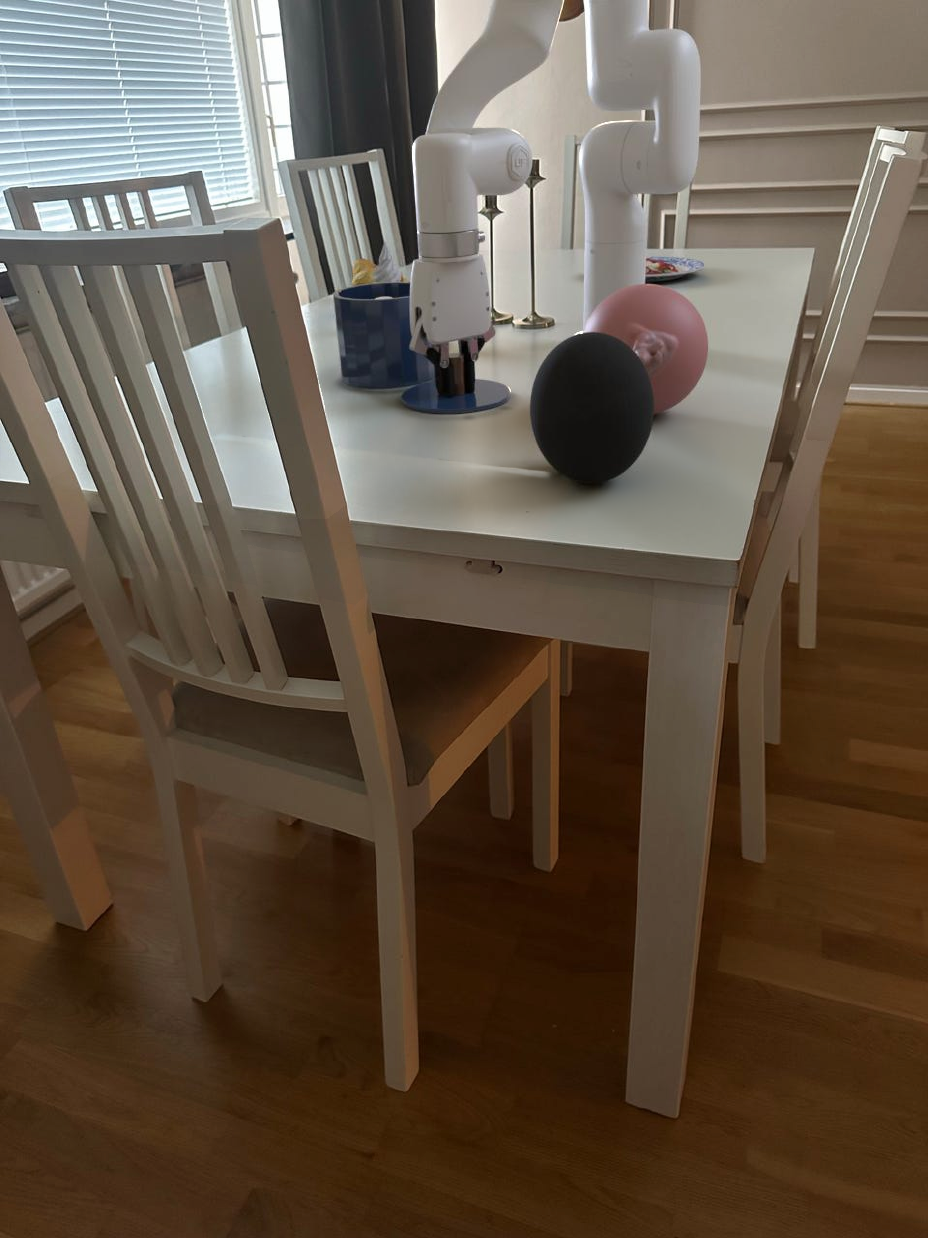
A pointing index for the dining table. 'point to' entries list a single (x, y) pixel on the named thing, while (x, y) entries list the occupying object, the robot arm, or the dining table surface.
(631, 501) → the dining table surface
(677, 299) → the balloon
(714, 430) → the dining table surface
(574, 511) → the dining table surface
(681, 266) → the ceramic plate
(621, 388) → the decorative egg
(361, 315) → the pot
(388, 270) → the ice cream cone
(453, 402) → the lid
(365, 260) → the bread roll
